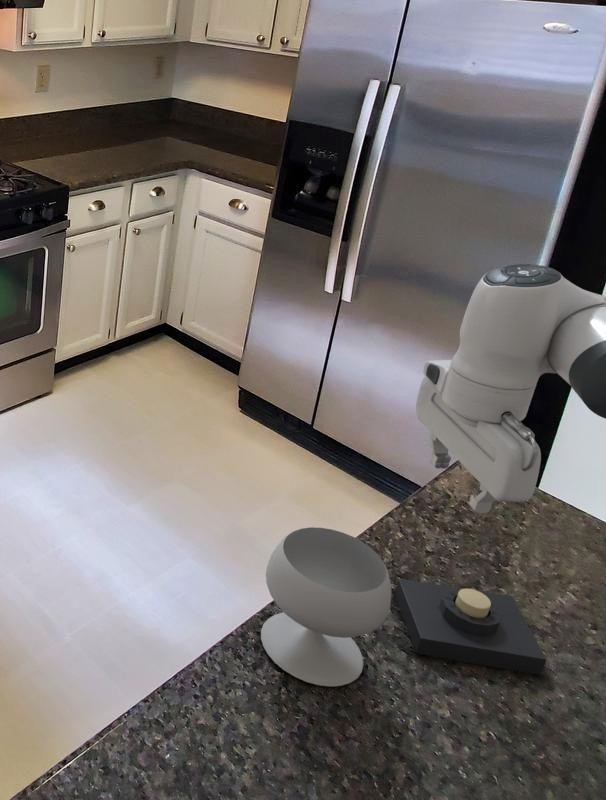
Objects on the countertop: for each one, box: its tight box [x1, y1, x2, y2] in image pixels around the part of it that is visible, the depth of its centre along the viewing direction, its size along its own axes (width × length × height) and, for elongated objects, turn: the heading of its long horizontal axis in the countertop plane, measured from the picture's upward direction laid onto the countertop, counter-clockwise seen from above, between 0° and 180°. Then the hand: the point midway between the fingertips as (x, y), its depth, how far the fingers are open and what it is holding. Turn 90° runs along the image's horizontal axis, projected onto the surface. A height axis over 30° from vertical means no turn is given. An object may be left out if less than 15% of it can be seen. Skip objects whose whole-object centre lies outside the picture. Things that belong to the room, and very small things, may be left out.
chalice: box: [260, 526, 392, 687], centre depth 99 cm, size 14×14×15 cm
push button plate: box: [394, 578, 547, 676], centre depth 104 cm, size 14×11×4 cm
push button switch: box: [455, 587, 491, 618], centre depth 103 cm, size 4×4×2 cm
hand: (457, 486), depth 103 cm, fingers open, 8 cm apart
